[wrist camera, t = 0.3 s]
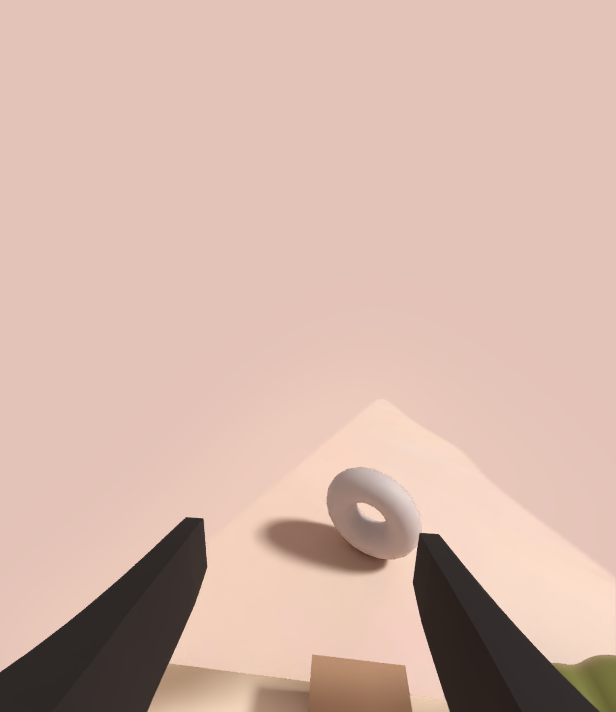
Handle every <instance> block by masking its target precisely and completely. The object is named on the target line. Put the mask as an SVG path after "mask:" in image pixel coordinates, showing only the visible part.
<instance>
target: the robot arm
mask: <svg viewBox="0 0 616 712" xmlns="http://www.w3.org/2000/svg"><path fill="white" fill-rule="evenodd" d="M206 569H207V558H206V545H205V532H204V520H203V519H202V518H188V517H186V518H185V519H184V520H183V521H182V522H180V523H179V524H178V525H177V526H176V527H175V528H174V529H173V530H172V531H171V532H170V533H169V534H168V535H167V536H165V537H164V539H162V540H161V541H160V542H159V543H158V544H157V545H156V546H155V547H154V548H153V549H152V550H151V551H150V552H148V554H146V555H145V556H144V557H143V558H142V559H141V560H140V561H139V562H138V563H136V564H135V566H133V567H132V568H131V569H130V570H129V571H128V572H127V573H126V574H124V576H122V577H121V578H120V579H119V580H118V581H117V582H115V583H114V584H113V585H112V586H111V587H110V588H108V590H106V591H105V592H104V593H102V594H101V595H100V596H99V597H98V598H97V599H95V600H94V601H93V602H92V603H91V604H90V605H88V606H87V607H86V608H85V609H84V610H82V611H81V612H80V613H79V614H78V615H76V616H75V617H74V618H73V619H71V620H70V621H69V622H68V623H67V624H65V625H64V626H62V627H61V628H60V629H59V630H57V631H56V632H55V633H53V634H52V635H51V636H50V637H48V638H47V639H45V640H44V641H43V642H42V643H40V644H39V645H38V646H36V647H35V648H34V649H32V650H31V651H29V652H28V653H27V654H26V655H24V656H23V657H21V658H20V659H18V660H17V661H15V662H14V663H13V664H11V665H10V666H8V667H7V668H6V669H4V670H3V671H1V672H0V712H148V709H149V707H150V704H151V702H152V700H153V697H154V695H155V693H156V691H157V688H158V686H159V684H160V682H161V679H162V677H163V675H164V673H165V670H166V668H167V666H168V664H169V661H170V659H171V657H172V655H173V653H174V650H175V648H176V646H177V644H178V641H179V639H180V637H181V635H182V632H183V630H184V628H185V625H186V623H187V621H188V619H189V616H190V614H191V612H192V609H193V607H194V605H195V602H196V599H197V596H198V593H199V591H200V588H201V585H202V582H203V579H204V575H205V572H206ZM413 586H414V590H415V595H416V600H417V605H418V609H419V613H420V618H421V622H422V626H423V629H424V632H425V635H426V639H427V642H428V645H429V648H430V651H431V655H432V658H433V661H434V664H435V667H436V670H437V673H438V677H439V680H440V683H441V686H442V689H443V692H444V695H445V699H446V702H447V705H448V708H449V711H450V712H600V711H599V710H598V709H597V708H596V707H595V706H594V705H592V704H591V703H590V702H589V701H588V700H587V699H586V698H585V697H584V696H583V695H582V694H581V693H580V692H579V691H578V690H577V689H576V688H575V687H574V686H573V685H572V684H571V683H570V682H569V681H568V680H567V679H566V678H565V677H564V676H563V675H562V674H561V673H560V672H559V671H558V670H557V669H556V668H555V667H554V666H553V665H552V664H551V663H550V662H549V661H548V660H547V659H546V657H545V656H544V655H543V654H542V653H541V652H540V651H539V650H538V649H537V648H536V647H535V646H534V645H533V644H532V643H531V642H530V640H529V639H528V638H527V637H526V636H525V635H524V634H523V633H522V632H521V631H520V630H519V629H518V627H517V626H516V625H515V624H514V623H513V622H512V621H511V620H510V619H509V617H508V616H507V615H506V614H505V613H504V612H503V611H502V609H501V608H500V607H499V606H498V605H497V604H496V603H495V601H494V600H493V599H492V598H491V597H490V596H489V594H488V593H487V592H486V591H485V590H484V589H483V587H482V586H481V585H480V584H479V583H478V582H477V580H476V579H475V578H474V577H473V576H472V574H471V573H470V572H469V571H468V569H467V568H466V567H465V566H464V565H463V563H462V562H461V561H460V560H459V558H458V557H457V556H456V555H455V553H454V552H453V551H452V550H451V549H450V547H449V546H448V545H447V544H446V542H445V541H444V540H443V539H442V537H441V536H440V535H439V534H428V533H419V540H418V547H417V555H416V563H415V571H414V578H413Z"/></svg>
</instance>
